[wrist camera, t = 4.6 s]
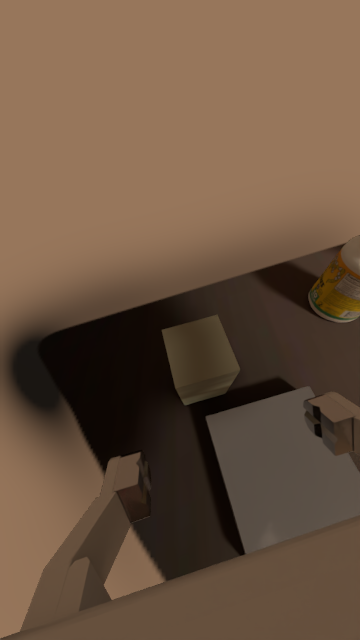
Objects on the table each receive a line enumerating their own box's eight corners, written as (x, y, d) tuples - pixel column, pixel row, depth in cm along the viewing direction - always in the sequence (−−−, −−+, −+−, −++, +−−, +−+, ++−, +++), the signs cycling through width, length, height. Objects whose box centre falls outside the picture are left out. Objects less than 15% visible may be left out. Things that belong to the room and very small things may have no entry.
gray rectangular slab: (298, 390, 18) (309, 385, 16) (370, 521, 14) (395, 534, 12) (204, 418, 18) (205, 416, 16) (247, 563, 13) (254, 583, 11)
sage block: (211, 354, 21) (217, 314, 14) (225, 393, 19) (240, 369, 12) (174, 365, 20) (161, 329, 14) (184, 405, 18) (175, 388, 12)
